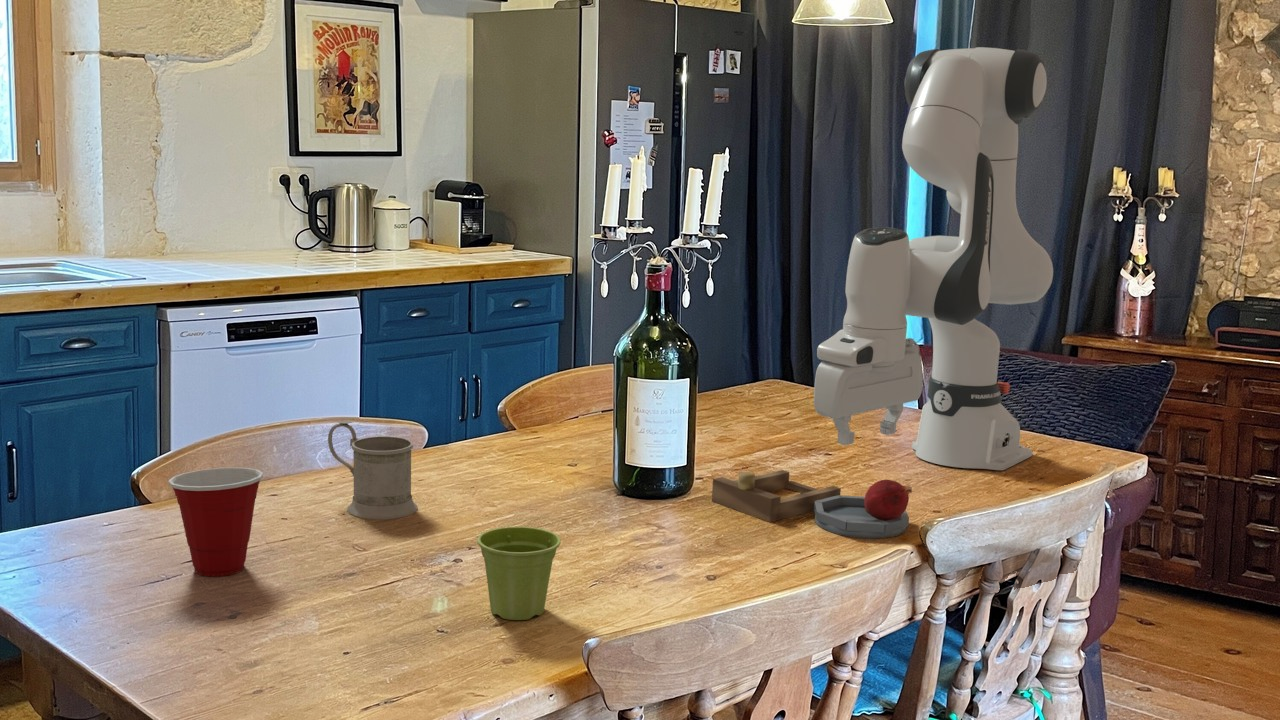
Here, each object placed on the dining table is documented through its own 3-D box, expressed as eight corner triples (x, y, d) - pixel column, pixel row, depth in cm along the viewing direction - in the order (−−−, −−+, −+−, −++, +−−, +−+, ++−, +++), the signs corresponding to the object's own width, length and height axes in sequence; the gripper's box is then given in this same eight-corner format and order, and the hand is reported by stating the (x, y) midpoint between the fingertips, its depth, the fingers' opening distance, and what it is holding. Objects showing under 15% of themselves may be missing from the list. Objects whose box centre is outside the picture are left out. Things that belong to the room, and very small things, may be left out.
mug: (430, 505, 177) (431, 425, 175) (389, 524, 168) (390, 439, 166) (350, 490, 183) (350, 412, 180) (306, 506, 174) (305, 425, 172)
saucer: (853, 505, 185) (854, 491, 185) (924, 527, 176) (925, 513, 175) (796, 520, 177) (797, 505, 176) (866, 544, 167) (868, 529, 167)
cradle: (784, 484, 195) (786, 451, 194) (842, 503, 186) (844, 468, 185) (710, 501, 184) (712, 466, 183) (768, 522, 175) (771, 485, 174)
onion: (867, 534, 173) (911, 511, 168) (847, 498, 174) (890, 475, 169) (884, 522, 177) (928, 500, 173) (865, 487, 178) (908, 465, 174)
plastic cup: (241, 547, 156) (239, 457, 154) (280, 571, 149) (279, 476, 146) (157, 564, 149) (153, 470, 147) (193, 591, 141) (190, 491, 139)
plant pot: (478, 595, 144) (479, 525, 142) (557, 595, 145) (559, 526, 143) (474, 627, 135) (475, 552, 133) (559, 627, 135) (561, 553, 134)
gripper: (901, 333, 181) (894, 423, 184) (808, 348, 168) (803, 444, 170) (936, 340, 176) (929, 432, 179) (844, 356, 163) (837, 455, 166)
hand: (866, 438), depth 175 cm, fingers open, 8 cm apart
